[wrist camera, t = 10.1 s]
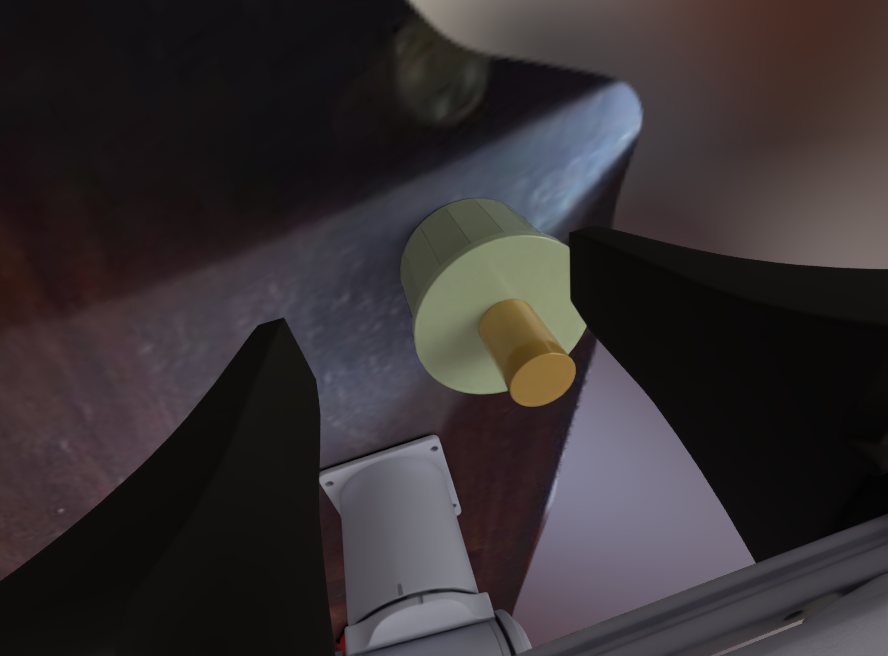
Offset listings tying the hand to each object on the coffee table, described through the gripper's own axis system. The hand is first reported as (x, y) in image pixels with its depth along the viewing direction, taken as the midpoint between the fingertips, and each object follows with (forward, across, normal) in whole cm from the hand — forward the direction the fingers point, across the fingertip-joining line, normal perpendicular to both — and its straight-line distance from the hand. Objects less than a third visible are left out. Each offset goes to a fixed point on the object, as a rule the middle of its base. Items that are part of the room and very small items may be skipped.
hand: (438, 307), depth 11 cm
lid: (+5, -3, +5) cm, 8 cm away
